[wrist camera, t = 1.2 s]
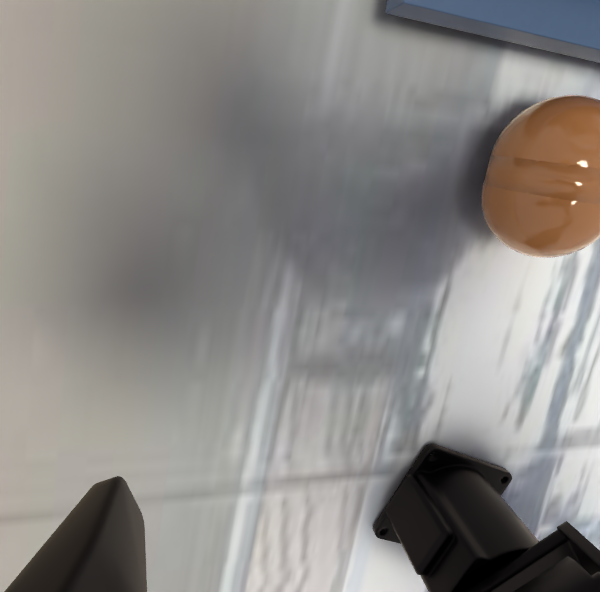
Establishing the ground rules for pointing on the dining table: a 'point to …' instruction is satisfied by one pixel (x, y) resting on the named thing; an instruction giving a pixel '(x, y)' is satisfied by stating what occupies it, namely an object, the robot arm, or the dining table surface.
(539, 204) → the egg
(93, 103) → the dining table surface
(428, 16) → the brush
